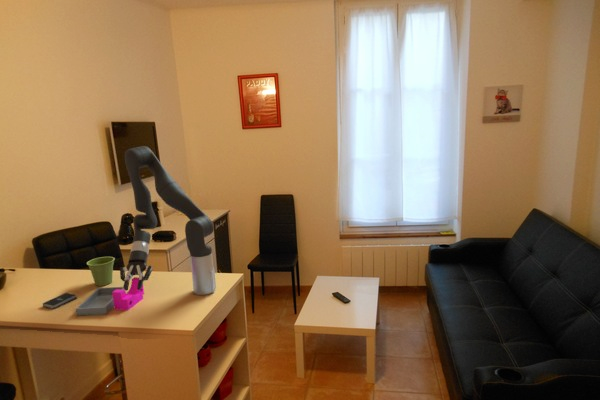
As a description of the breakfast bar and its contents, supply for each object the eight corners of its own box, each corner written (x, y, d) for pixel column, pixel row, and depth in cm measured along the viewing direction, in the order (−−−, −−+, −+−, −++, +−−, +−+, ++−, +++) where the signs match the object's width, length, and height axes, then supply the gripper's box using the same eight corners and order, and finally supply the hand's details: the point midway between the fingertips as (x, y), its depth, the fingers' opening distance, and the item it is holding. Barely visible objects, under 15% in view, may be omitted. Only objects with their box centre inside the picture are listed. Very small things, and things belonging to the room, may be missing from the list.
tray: (125, 292, 174) (124, 286, 174) (106, 314, 155) (105, 307, 155) (98, 294, 174) (98, 288, 173) (76, 316, 155) (75, 309, 154)
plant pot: (123, 281, 188) (119, 258, 186) (99, 290, 178) (95, 266, 176) (108, 276, 194) (105, 254, 192) (84, 285, 185) (81, 262, 182)
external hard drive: (42, 308, 164) (41, 303, 163) (66, 296, 174) (66, 292, 173) (54, 310, 161) (53, 306, 161) (78, 298, 171) (77, 294, 171)
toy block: (128, 310, 158) (126, 292, 157) (114, 309, 159) (112, 292, 158) (149, 293, 173) (147, 278, 171) (136, 293, 174) (134, 277, 172)
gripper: (120, 250, 173) (111, 287, 164) (152, 248, 174) (146, 285, 164) (126, 257, 180) (118, 293, 170) (157, 256, 180) (152, 292, 171)
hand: (132, 289), depth 167 cm, fingers closed on toy block, 4 cm apart
